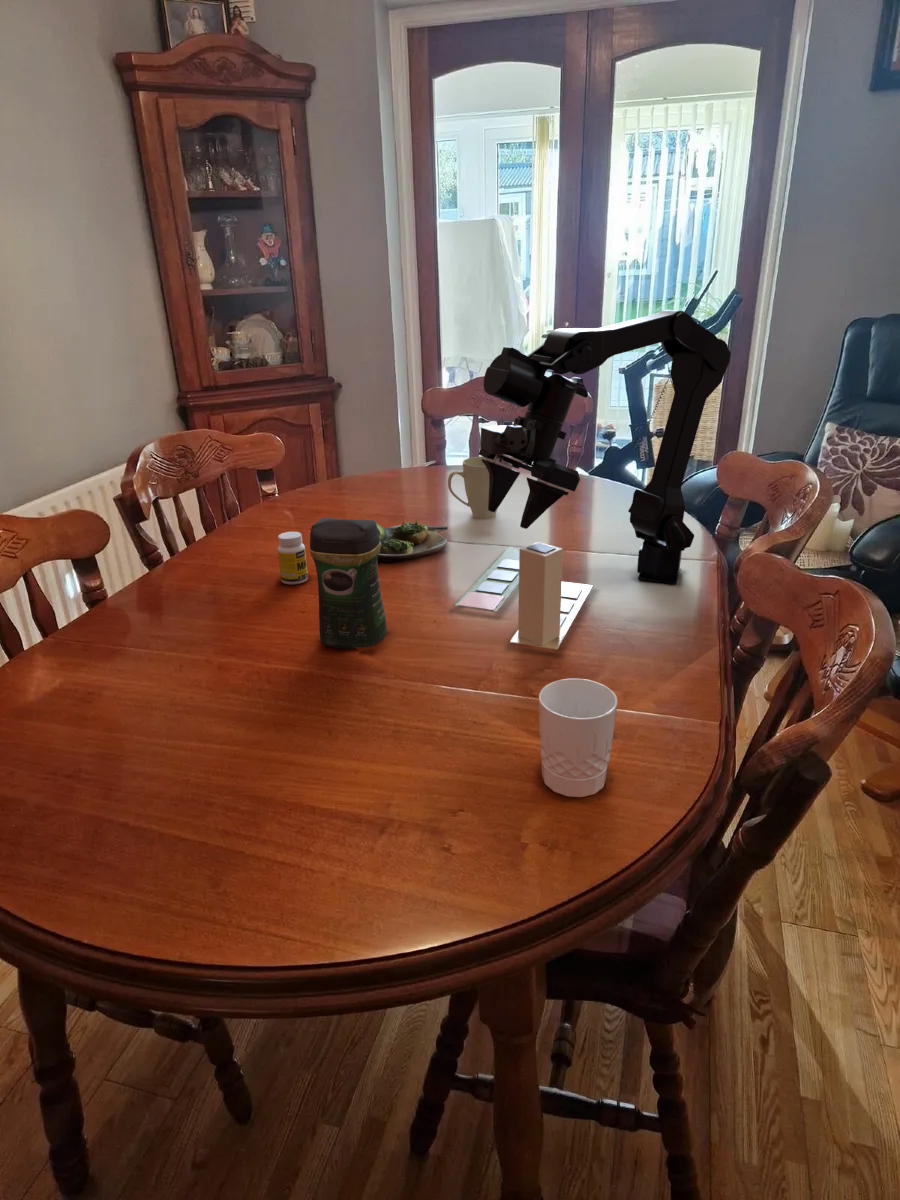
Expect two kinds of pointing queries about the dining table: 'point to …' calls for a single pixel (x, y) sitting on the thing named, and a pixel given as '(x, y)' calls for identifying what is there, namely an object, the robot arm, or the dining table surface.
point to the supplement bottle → (292, 558)
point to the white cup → (576, 735)
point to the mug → (475, 487)
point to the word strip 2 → (563, 612)
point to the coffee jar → (348, 582)
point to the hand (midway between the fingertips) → (506, 519)
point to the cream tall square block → (540, 592)
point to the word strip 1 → (494, 583)
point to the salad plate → (409, 541)
